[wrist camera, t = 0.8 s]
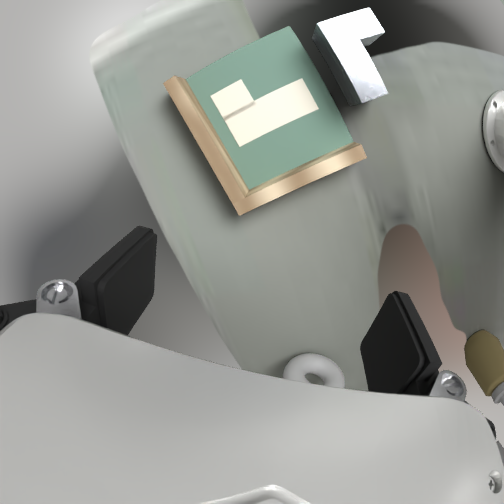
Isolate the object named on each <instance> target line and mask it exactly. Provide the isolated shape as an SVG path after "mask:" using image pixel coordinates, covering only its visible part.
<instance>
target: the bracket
mask: <svg viewBox="0 0 504 504" xmlns="http://www.w3.org/2000/svg"><path fill="white" fill-rule="evenodd" d="M383 33H384V30H383V28H382V27H381V25H380V23H379V22H378V20H377V19H376V17H375V15H374V14H373V12H372V11H371V9H370V8H366V9H362V10H359V11H355V12H351V13H348V14H345V15H342V16H338V17H335V18H332V19H329V20H326V21H323V22H320V23H317V25H316V28H315V31H314V35H313V38H312V40H313V42H314V43H315V45H316V46H317V48H318V50H319V51H320V53H321V54H322V56H323V58H324V60H325V61H326V63H327V65H328V67H329V68H330V70H331V72H332V74H333V76H334V77H335V79H336V81H337V83H338V85H339V87H340V89H341V90H342V92H343V94H344V96H345V98H346V100H347V102H348V104H349V106H350V105H356V104H361V103H364V102H367V101H369V100H372V99H375V98H377V97H380V96H383V95H386V94H388V92H387V90H386V88H385V85H384V83H383V81H382V79H381V77H380V75H379V73H378V72H377V70H376V68H375V66H374V64H373V62H372V60H371V58H370V57H369V55H368V53H367V51H366V50H365V48H364V46H367V45H370V44H371V43H372V42H373V41H374V40H376V39H377V38H378V37H379V36H380V35H382V34H383Z"/></svg>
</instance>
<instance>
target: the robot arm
mask: <svg viewBox="0 0 504 504" xmlns="http://www.w3.org/2000/svg"><path fill="white" fill-rule="evenodd" d="M483 133H484V139H485V144H486V147H487V150H488V153H489V155H490V157H491V159H492V161H493V162H494V164H495V165H496V167H497V168H498V169H499V170H501V171H502V172H504V90H499V91H497V92H495V93H494V94H492V96H491V97H490V98H489V100H488V102H487V104H486V107H485V111H484V117H483ZM156 243H157V235H156V234H154V233H153V230H152V229H150V228H146V227H142V226H137V227H136V228H135V229H134V230H133V231H131V232H130V233H129V234H128V235H127V236H125V237H124V238H123V239H122V240H121V241H119V242H118V243H117V244H116V245H115V246H114V247H112V248H111V249H110V250H109V251H108V252H107V253H106V254H105V255H103V256H102V257H101V258H100V259H99V260H98V261H97V262H95V264H93V265H92V266H91V267H90V268H89V269H88V270H87V271H86V272H85V273H83V274H82V275H81V276H80V277H79V280H78V281H77V282H76V283H75V284H73V283H72V282H70V281H68V280H63V279H56V280H52V281H49V282H47V283H45V284H44V285H42V286H41V287H40V288H39V290H38V292H37V299H36V300H30V301H24V302H19V303H13V304H7V305H1V306H0V504H504V448H503V447H502V445H501V444H500V443H499V441H497V442H496V432H495V427H494V424H493V423H492V422H491V421H490V420H488V419H487V418H486V417H485V416H484V415H483V413H481V411H479V410H478V409H476V408H475V407H473V406H471V405H469V404H468V403H467V402H466V401H465V397H466V387H465V384H464V382H463V381H462V379H461V378H460V377H459V376H458V375H457V374H455V373H453V372H451V371H448V370H444V371H441V372H440V373H439V371H438V369H439V367H440V366H441V365H442V362H441V360H440V357H439V355H438V353H437V351H436V349H435V346H434V344H433V342H432V340H431V338H430V336H429V334H428V332H427V330H426V328H425V326H424V324H423V322H422V320H421V318H420V316H419V314H418V312H417V310H416V309H415V306H414V304H413V303H412V301H411V299H410V297H409V295H408V294H406V293H402V292H398V291H394V292H393V293H392V294H391V293H390V294H389V295H388V296H387V298H386V300H385V302H384V304H383V306H382V307H381V309H380V311H379V313H378V315H377V316H376V318H375V320H374V322H373V324H372V325H371V327H370V329H369V330H368V332H367V334H366V336H365V337H364V339H363V341H362V343H361V346H360V350H361V355H362V359H363V364H364V369H365V374H366V379H367V384H368V389H369V391H362V390H354V389H345V388H338V387H331V386H324V385H317V384H311V383H305V382H299V381H294V380H288V379H283V378H278V377H273V376H268V375H264V374H259V373H254V372H250V371H246V370H241V369H237V368H233V367H229V366H225V365H221V364H217V363H214V362H210V361H206V360H203V359H199V358H195V357H192V356H189V355H185V354H181V353H178V352H175V351H172V350H169V349H165V348H162V347H159V346H156V345H153V344H150V343H147V342H144V341H142V340H139V339H136V338H133V337H130V336H127V335H128V334H129V332H130V331H131V329H132V328H133V326H134V325H135V323H136V322H137V320H138V319H139V317H140V316H141V314H142V313H143V311H144V310H145V308H146V307H147V305H148V304H149V302H150V301H151V299H152V297H153V293H154V279H155V259H156Z"/></svg>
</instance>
